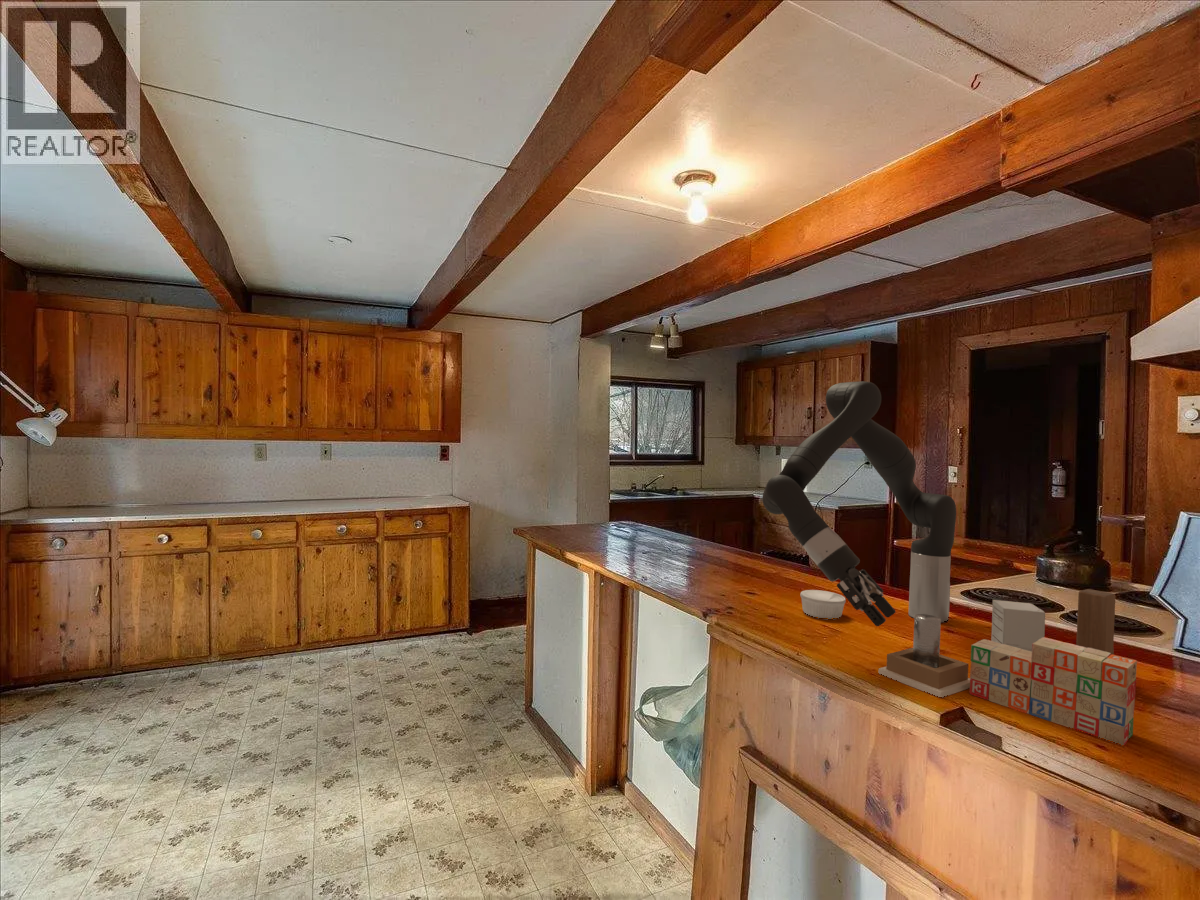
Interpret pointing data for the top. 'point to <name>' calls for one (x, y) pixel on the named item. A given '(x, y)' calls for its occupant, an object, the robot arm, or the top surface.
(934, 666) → the axle
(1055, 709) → the stack of blocks
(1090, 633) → the wooden block
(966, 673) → the cradle
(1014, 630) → the supplement box
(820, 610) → the ramekin
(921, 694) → the top surface
